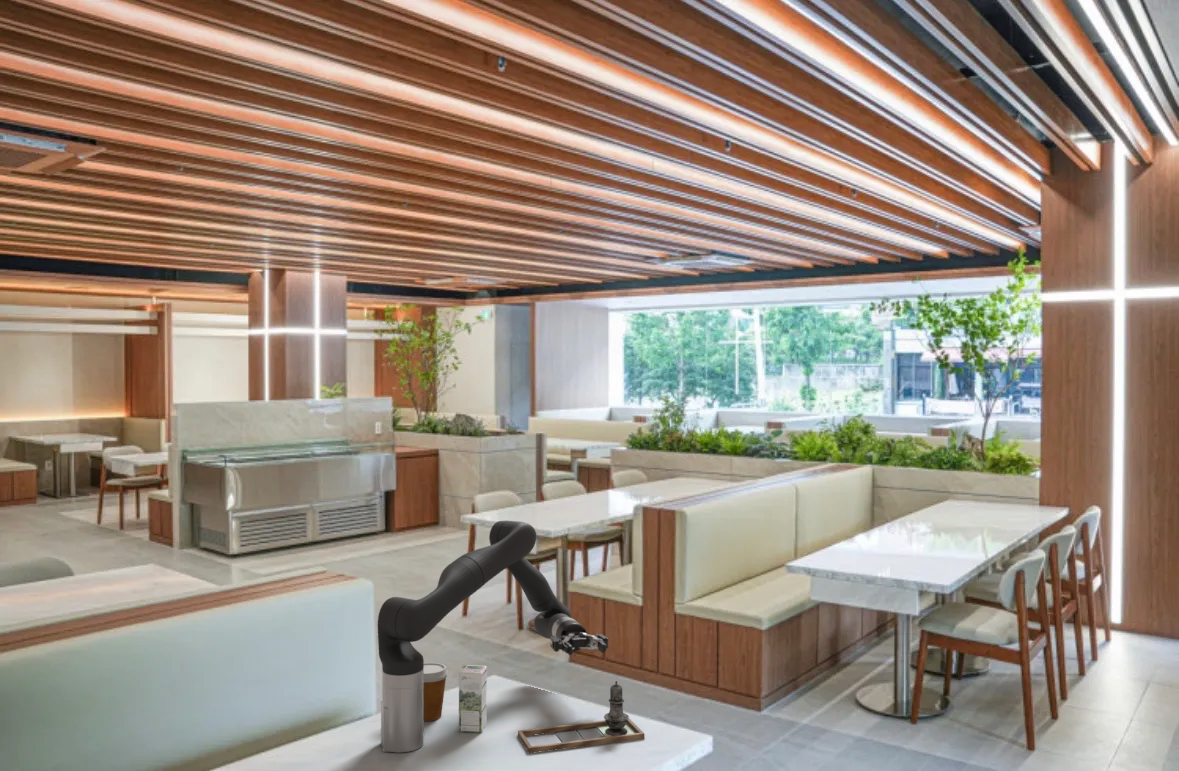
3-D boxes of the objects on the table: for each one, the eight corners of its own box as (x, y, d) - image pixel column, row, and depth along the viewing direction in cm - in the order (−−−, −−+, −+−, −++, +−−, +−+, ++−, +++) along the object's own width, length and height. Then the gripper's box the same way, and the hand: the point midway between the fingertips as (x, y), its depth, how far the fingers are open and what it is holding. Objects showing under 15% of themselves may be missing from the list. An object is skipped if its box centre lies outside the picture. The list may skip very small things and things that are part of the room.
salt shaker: (626, 737, 207) (626, 685, 208) (601, 735, 209) (601, 684, 209) (630, 728, 213) (630, 677, 213) (606, 726, 214) (606, 676, 214)
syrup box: (487, 724, 216) (487, 664, 216) (481, 733, 210) (482, 672, 210) (463, 723, 216) (464, 663, 217) (457, 732, 211) (458, 671, 211)
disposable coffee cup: (444, 724, 216) (444, 674, 216) (404, 723, 216) (405, 674, 216) (451, 709, 226) (451, 662, 226) (413, 709, 226) (413, 661, 226)
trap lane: (528, 753, 199) (529, 748, 199) (517, 735, 209) (517, 730, 209) (644, 738, 207) (644, 733, 207) (628, 722, 217) (628, 717, 217)
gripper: (543, 620, 235) (560, 636, 219) (594, 618, 239) (614, 632, 223) (542, 649, 234) (559, 666, 219) (594, 646, 239) (614, 663, 223)
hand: (587, 649), depth 221 cm, fingers open, 8 cm apart
